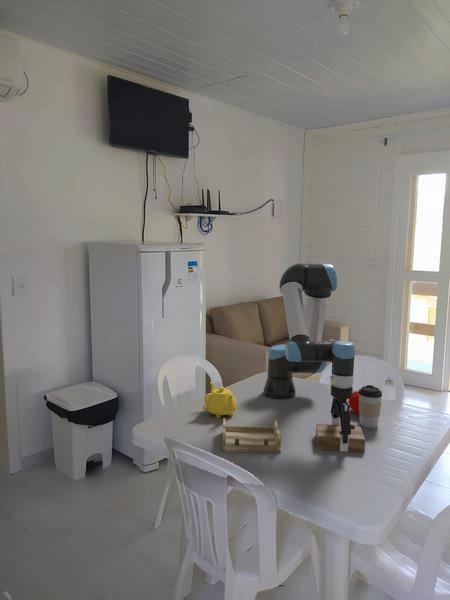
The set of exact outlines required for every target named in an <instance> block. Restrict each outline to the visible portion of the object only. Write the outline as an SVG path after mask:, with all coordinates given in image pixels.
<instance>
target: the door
mask: <svg viewBox="0 0 450 600" xmlns="http://www.w3.org/2000/svg"><path fill="white" fill-rule="evenodd" d="M350 426H351V435H349V442H348V452H356V453H365V451H366V450H365V448H366V438H365V435H364V432H363V429H362V427H361V426H356V424H355V423H354V424H353V423H352V424H351V423H350ZM340 432H341V424H339V425H332V424H327V423H326V424H325V423H316V425H315V441H316V448H317V450H328V451H329V450H331V451H340V434H339V433H340Z"/></svg>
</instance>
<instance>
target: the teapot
mask: <svg viewBox="0 0 450 600" xmlns="http://www.w3.org/2000/svg"><path fill="white" fill-rule="evenodd" d="M210 385H211V390H210V393H206V394H205V395H204V398H203V400H204V405H203V406H202V409H203V411H208V412H209V413H210V414H212V415H215V418H216V417H217V418H216V419H221V418H222V416H228V417H232V416H234V414H233V413H234V412H235V411H236V410H237V408H238V404H237V399H236V397H235V396H234V394H233V392H232V391H231V390H230V389H229V388H225V386H219V387H217V388H216V385H215V382H213V381H211V380H210ZM220 417H221V418H220Z"/></svg>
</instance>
